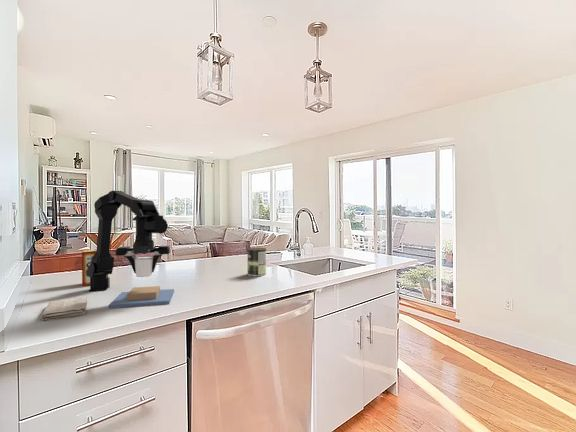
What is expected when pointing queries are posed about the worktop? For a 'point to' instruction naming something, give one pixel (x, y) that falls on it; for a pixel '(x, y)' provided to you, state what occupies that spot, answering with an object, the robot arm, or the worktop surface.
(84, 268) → the baking soda box
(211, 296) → the worktop surface
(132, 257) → the robot arm
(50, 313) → the washcloth
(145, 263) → the white cup
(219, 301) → the worktop surface
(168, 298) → the board
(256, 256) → the coffee can
